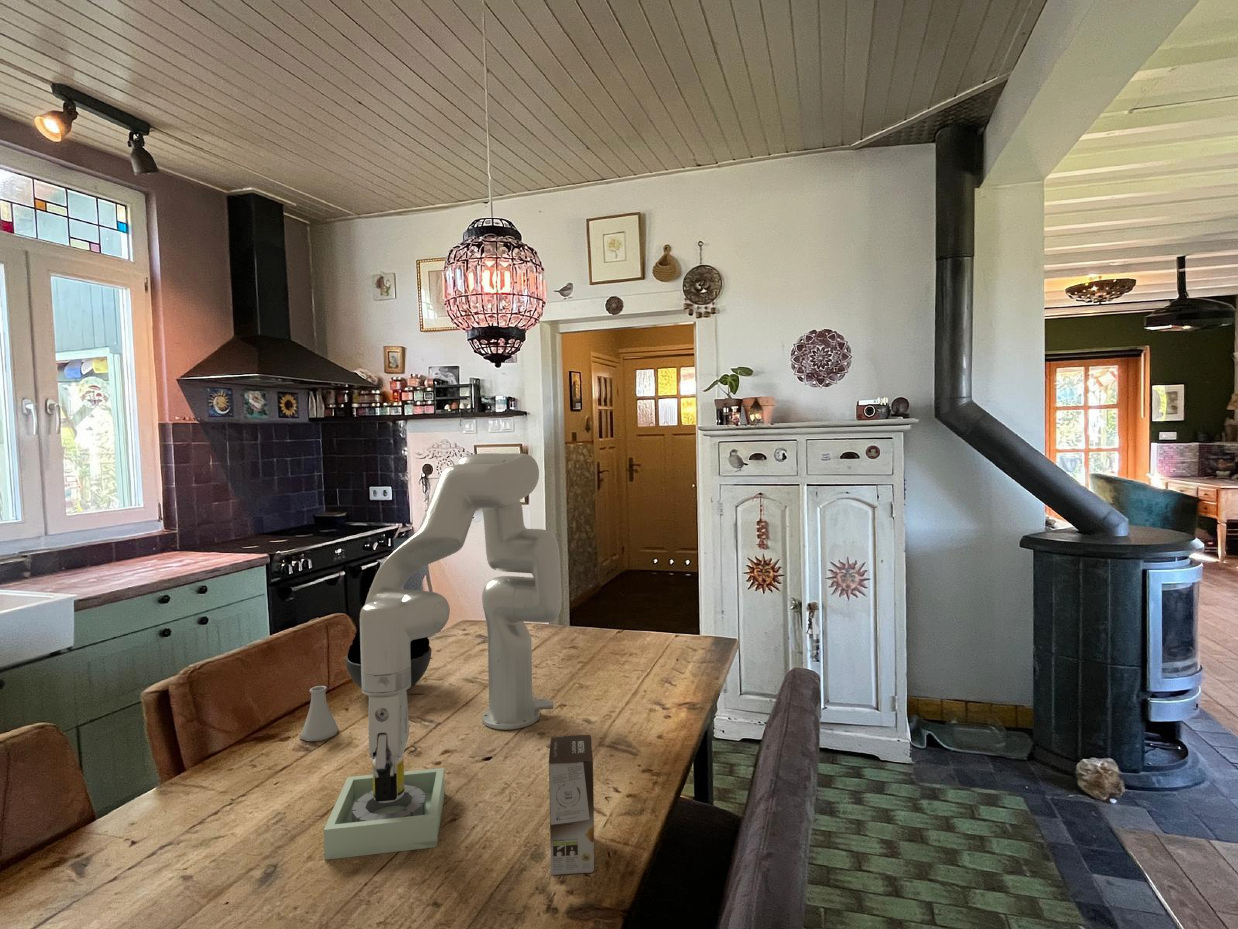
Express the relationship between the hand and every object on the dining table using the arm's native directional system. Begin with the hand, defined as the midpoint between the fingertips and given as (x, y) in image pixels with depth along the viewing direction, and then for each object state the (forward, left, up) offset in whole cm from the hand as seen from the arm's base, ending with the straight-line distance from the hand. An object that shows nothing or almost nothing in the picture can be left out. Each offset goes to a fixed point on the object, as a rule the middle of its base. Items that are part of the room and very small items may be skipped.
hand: (389, 789), depth 108 cm
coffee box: (-28, +14, -6) cm, 32 cm away
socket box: (0, 0, -5) cm, 5 cm away
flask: (+20, -38, -6) cm, 43 cm away
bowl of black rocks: (+9, -60, -6) cm, 61 cm away
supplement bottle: (0, 0, -1) cm, 1 cm away
